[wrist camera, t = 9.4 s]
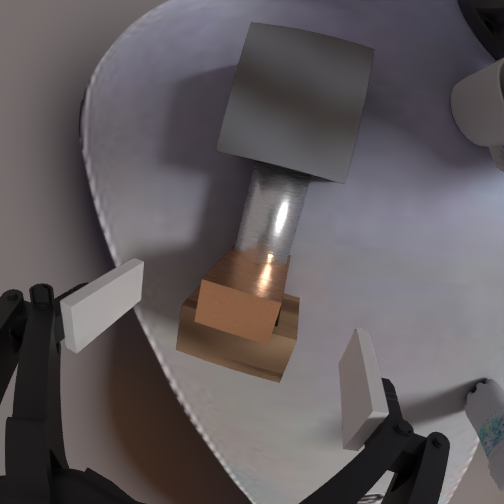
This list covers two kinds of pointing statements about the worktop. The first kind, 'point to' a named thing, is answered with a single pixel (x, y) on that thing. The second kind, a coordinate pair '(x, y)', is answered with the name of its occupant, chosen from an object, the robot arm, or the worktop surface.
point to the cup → (482, 109)
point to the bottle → (489, 424)
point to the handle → (256, 257)
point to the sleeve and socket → (284, 155)
